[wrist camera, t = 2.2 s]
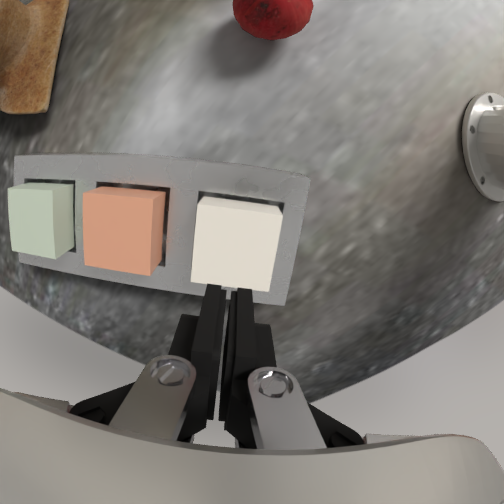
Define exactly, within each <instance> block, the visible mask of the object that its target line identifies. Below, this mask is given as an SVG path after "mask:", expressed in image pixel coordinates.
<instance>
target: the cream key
mask: <svg viewBox="0 0 504 504" xmlns="http://www.w3.org/2000/svg"><path fill="white" fill-rule="evenodd" d="M282 219H283V215H282V213H281V211H280V210H279V208H278V206H272V205H266V204H259V203H252V202H245V201H237V200H230V199H222V198H214V197H206V196H204V197H203V198H202V199H201V201H200V202H199V203H198V205H197V214H196V224H195V235H194V246H193V258H192V270H191V282H195V283H202V284H207V283H208V284H215V285H222V286H225V287H233V288H238V287H239V288H247V289H252V290H257V291H265V292H269V288H270V283H271V278H272V272H273V267H274V262H275V257H276V251H277V246H278V241H279V235H280V230H281V224H282Z"/></svg>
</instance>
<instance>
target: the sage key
mask: <svg viewBox="0 0 504 504" xmlns="http://www.w3.org/2000/svg"><path fill="white" fill-rule="evenodd" d="M73 186H74V184H56V183H31V182H29V183H25V184H22V185H18V186H14V187H11V188H8V209H9V224H10V236H11V245H12V251H17V252H22V253H27V254H31V255H36V256H41V257H46V258H51V259H57V258H58V257H60V256H61V255H63V254H64V253H66V252H67V251H68V250H70V249H71V248H73V247H74V226H73Z"/></svg>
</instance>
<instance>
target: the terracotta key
mask: <svg viewBox="0 0 504 504" xmlns="http://www.w3.org/2000/svg"><path fill="white" fill-rule="evenodd" d="M165 195H166V192H161V191H151V190H140V189H129V188H117V187H104V186H102V187H99V188H96V189H93V190H90V191H87V192H84V193H83V246H84V263H85V265H87V266H93V267H98V268H104V269H110V270H116V271H122V272H128V273H134V274H140V275H146V276H151V274H152V273H153V271H154V270H155V268H156V267H157V266H158V264H159V263H160V261H161V260H162V238H163V221H164V207H165Z"/></svg>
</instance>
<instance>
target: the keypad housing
mask: <svg viewBox="0 0 504 504" xmlns="http://www.w3.org/2000/svg"><path fill="white" fill-rule="evenodd" d="M310 179H311V178H309V177H307V176H305V175H302V174H300V173H295V172H289V171H283V170H277V169H271V168H265V167H258V166H251V165H244V164H237V163H229V162H221V161H213V160H204V159H194V158H184V157H173V156H160V155H146V154H128V153H100V152H48V153H34V154H26V155H18V156H15V158H14V186H18V185H22V184H25V183H29V182H31V183H56V184H74V186H73V226H74V247H73V248H71V249H70V250H68V251H67V252H66V253H64V254H63V255H61V256H60V257H58V258H57V259H51V258H46V257H41V256H36V255H31V254H27V253H22V252H18V255H19V262H21V263H25V264H30V265H34V266H39V267H43V268H48V269H52V270H57V271H62V272H66V273H71V274H76V275H81V276H86V277H91V278H97V279H102V280H107V281H113V282H118V283H124V284H130V285H136V286H141V287H147V288H154V289H160V290H166V291H173V292H179V293H186V294H193V295H200V296H204V295H205V291H206V287H207V284H202V283H195V282H191V270H192V258H193V246H194V235H195V224H196V214H197V205H198V203H199V202H200V201H201V199H202V198H203V197H204V196H206V197H214V198H222V199H230V200H237V201H245V202H252V203H259V204H266V205H272V206H278V208H279V210H280V211H281V213H282V215H283V219H282V224H281V230H280V235H279V241H278V246H277V251H276V257H275V262H274V267H273V272H272V278H271V283H270V288H269V292H265V291H257V290H252V294H253V302H255V303H264V304H273V305H282V306H285V302H286V297H287V293H288V288H289V284H290V279H291V275H292V270H293V266H294V261H295V256H296V251H297V247H298V242H299V237H300V232H301V227H302V222H303V217H304V211H305V206H306V201H307V196H308V190H309V185H310ZM102 186H104V187H117V188H129V189H140V190H151V191H161V192H166V195H165V207H164V221H163V238H162V260H161V261H160V263H159V264H158V266H157V267H156V268H155V270H154V271H153V273H152V274H151V276H146V275H140V274H134V273H128V272H122V271H116V270H110V269H104V268H98V267H93V266H87V265H85V263H84V246H83V193H84V192H87V191H90V190H93V189H96V188H99V187H102ZM221 289H224V290H227V294H226V299H230V297H231V291H237V288H233V287H225V286H222V287H221Z"/></svg>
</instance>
